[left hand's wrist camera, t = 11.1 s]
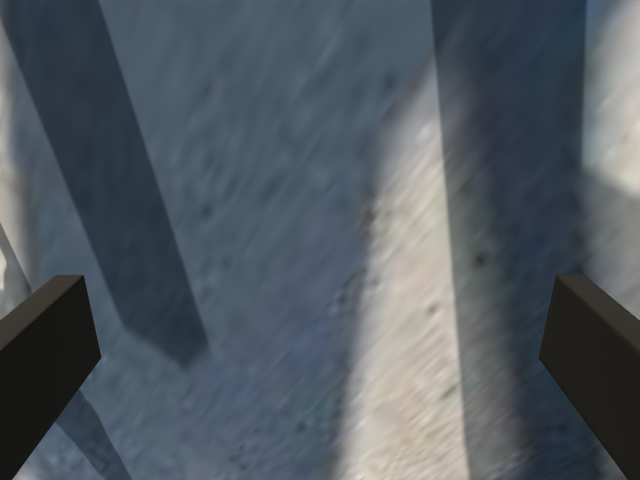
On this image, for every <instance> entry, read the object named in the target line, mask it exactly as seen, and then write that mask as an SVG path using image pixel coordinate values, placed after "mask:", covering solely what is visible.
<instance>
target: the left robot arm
mask: <svg viewBox="0 0 640 480" xmlns="http://www.w3.org/2000/svg"><path fill="white" fill-rule="evenodd" d="M100 359H101V354H100V349H99V344H98V340H97V335H96V330H95V326H94V321H93V316H92V312H91V307H90V302H89V298H88V293H87V288H86V284H85V279H84V275H56V276H54V277H53V278H52V279H51V280H49V281H48V282H47V283H46V284H44V285H43V286H42V287H41V288H40V289H38V290H37V291H36V292H35V293H33V294H32V295H31V296H30V297H29V298H27V299H26V300H25V301H24V302H22V303H21V304H20V305H19V306H18V307H16V308H15V309H14V310H13V311H11V312H10V313H9V314H8V315H7V316H5V317H4V318H3V319H2V320H0V480H12V479H13V478H14V476H15V475H16V474H17V472H18V471H19V469H20V468H21V467H22V465H23V464H24V463H25V461H26V460H27V459H28V457H29V456H30V454H31V453H32V452H33V450H34V449H35V448H36V446H37V445H38V444H39V442H40V441H41V439H42V438H43V437H44V435H45V434H46V433H47V431H48V430H49V429H50V427H51V426H52V424H53V423H54V422H55V420H56V419H57V418H58V416H59V415H60V414H61V412H62V411H63V409H64V408H65V407H66V405H67V404H68V403H69V401H70V400H71V399H72V397H73V396H74V394H75V393H76V392H77V390H78V389H79V388H80V386H81V385H82V383H83V382H84V381H85V379H86V378H87V377H88V375H89V374H90V373H91V371H92V370H93V368H94V367H95V366H96V364H97V363H98V362H99V360H100ZM539 359H540V360H541V362H542V363H543V364H544V366H545V367H546V368H547V370H548V371H549V373H550V374H551V375H552V377H553V378H554V379H555V381H556V382H557V383H558V385H559V386H560V388H561V389H562V390H563V392H564V393H565V394H566V396H567V397H568V399H569V400H570V401H571V403H572V404H573V405H574V407H575V408H576V409H577V411H578V412H579V414H580V415H581V416H582V418H583V419H584V420H585V422H586V423H587V424H588V426H589V427H590V429H591V430H592V431H593V433H594V434H595V435H596V437H597V438H598V439H599V441H600V442H601V444H602V445H603V446H604V448H605V449H606V450H607V452H608V453H609V454H610V456H611V457H612V459H613V460H614V461H615V463H616V464H617V465H618V467H619V468H620V469H621V471H622V472H623V474H624V475H625V476H626V478H627V479H628V480H640V320H638V319H637V318H636V317H635V316H633V315H632V314H631V313H630V312H629V311H627V310H626V309H625V308H624V307H622V306H621V305H620V304H619V303H618V302H616V301H615V300H614V299H613V298H611V297H610V296H609V295H608V294H607V293H605V292H604V291H603V290H602V289H600V288H599V287H598V286H597V285H596V284H594V283H593V282H592V281H591V280H589V279H588V278H587V277H586V276H584V275H556V279H555V284H554V288H553V293H552V298H551V302H550V307H549V312H548V316H547V321H546V326H545V330H544V335H543V340H542V344H541V349H540V354H539Z"/></svg>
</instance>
